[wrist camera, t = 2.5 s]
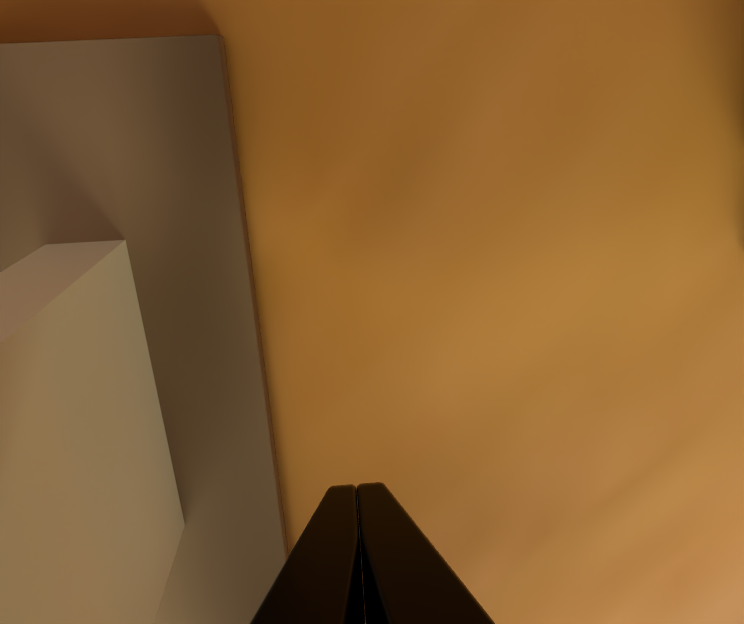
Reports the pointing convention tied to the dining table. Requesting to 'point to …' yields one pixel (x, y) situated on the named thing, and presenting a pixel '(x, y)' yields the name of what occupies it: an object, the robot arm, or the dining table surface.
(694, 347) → the dining table surface
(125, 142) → the board
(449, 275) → the dining table surface
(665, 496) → the dining table surface
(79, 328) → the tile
